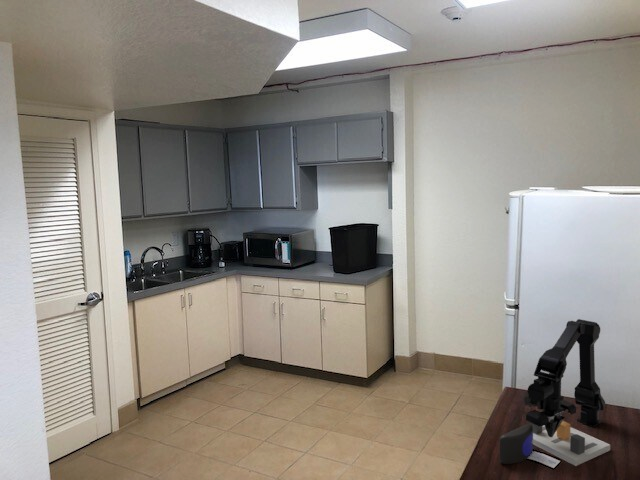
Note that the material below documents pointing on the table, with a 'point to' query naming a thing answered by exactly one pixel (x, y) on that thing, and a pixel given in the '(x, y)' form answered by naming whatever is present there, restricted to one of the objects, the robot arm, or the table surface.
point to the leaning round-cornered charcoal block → (516, 445)
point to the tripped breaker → (564, 430)
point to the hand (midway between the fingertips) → (550, 436)
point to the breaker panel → (569, 445)
